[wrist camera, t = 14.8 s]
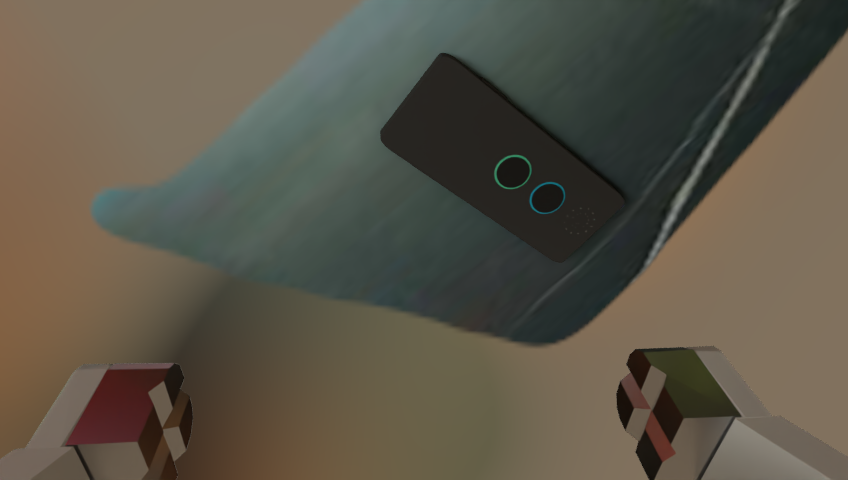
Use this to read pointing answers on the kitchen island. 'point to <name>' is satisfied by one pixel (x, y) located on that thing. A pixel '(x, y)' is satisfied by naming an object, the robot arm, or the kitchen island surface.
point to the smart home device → (499, 160)
